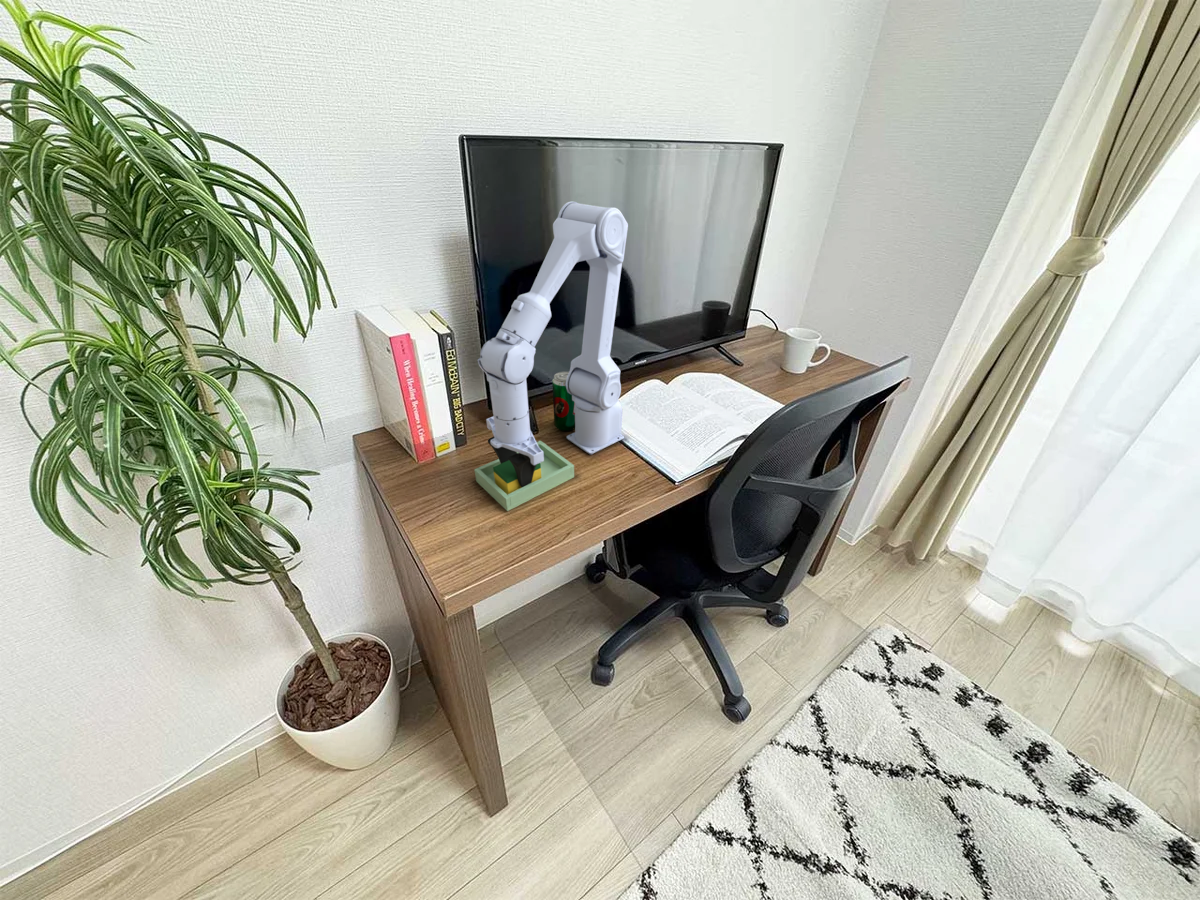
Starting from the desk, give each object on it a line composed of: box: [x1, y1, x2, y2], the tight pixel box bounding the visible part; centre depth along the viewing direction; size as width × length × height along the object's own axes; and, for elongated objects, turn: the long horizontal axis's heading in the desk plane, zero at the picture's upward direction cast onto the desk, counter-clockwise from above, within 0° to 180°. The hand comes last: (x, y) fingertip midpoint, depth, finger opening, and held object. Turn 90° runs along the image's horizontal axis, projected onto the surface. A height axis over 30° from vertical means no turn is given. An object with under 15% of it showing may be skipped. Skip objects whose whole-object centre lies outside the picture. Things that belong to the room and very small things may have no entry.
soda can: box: [551, 371, 575, 432], centre depth 99 cm, size 5×5×12 cm
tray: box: [474, 440, 575, 512], centre depth 87 cm, size 15×11×3 cm
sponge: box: [493, 460, 541, 495], centre depth 84 cm, size 7×4×4 cm, turn 131°
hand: (517, 477), depth 84 cm, fingers closed on sponge, 4 cm apart
